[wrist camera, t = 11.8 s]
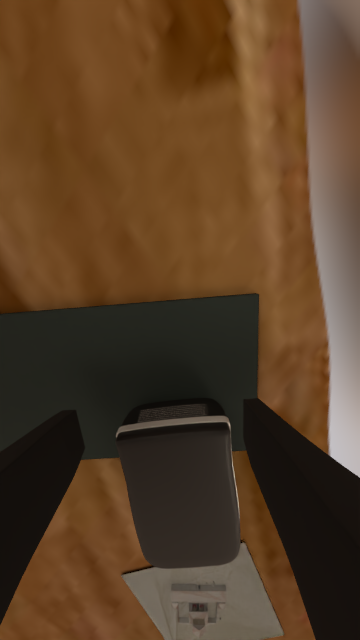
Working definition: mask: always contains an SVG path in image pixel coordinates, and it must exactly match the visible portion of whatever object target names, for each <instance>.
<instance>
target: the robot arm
mask: <svg viewBox="0 0 360 640" xmlns="http://www.w3.org/2000/svg"><path fill="white" fill-rule="evenodd" d="M243 440H244V443H245V447H246V450H247V454H248V457H249V460H250V464H251V467H252V469H253V472H254V474H255V477H256V479H257V482H258V484H259V487H260V489H261V492H262V494H263V497H264V499H265V502H266V504H267V507H268V509H269V511H270V514H271V516H272V519H273V521H274V524H275V526H276V529H277V531H278V534H279V536H280V538H281V541H282V543H283V546H284V548H285V551H286V554H287V556H288V559H289V562H290V564H291V567H292V570H293V573H294V576H295V579H296V582H297V585H298V588H299V591H300V594H301V597H302V600H303V603H304V606H305V608H306V611H307V614H308V617H309V620H310V623H311V626H312V629H313V633H314V636H315V639H316V640H360V478H359V477H358V476H357V475H355V474H353V473H352V472H351V471H349V470H348V469H347V468H345V467H344V466H342V465H341V464H340V463H338V462H337V461H336V460H334V459H333V458H332V457H330V456H329V455H327V454H326V453H325V452H323V451H322V450H321V449H319V448H318V447H317V446H316V445H314V444H313V443H312V442H310V441H309V440H308V439H307V438H305V437H304V436H303V435H301V434H300V433H299V432H298V431H296V430H295V429H294V428H293V427H292V426H290V425H289V424H288V423H287V422H286V421H284V420H283V419H282V418H281V417H280V416H278V415H277V414H276V413H275V412H274V411H273V410H271V409H270V408H269V407H268V406H267V405H265V404H264V403H263V402H262V401H261V400H260V399H258V398H252V399H243ZM84 450H85V445H84V440H83V436H82V432H81V428H80V424H79V420H78V416H77V412H76V410H62V411H60V412H59V413H57V414H55V415H54V416H52V417H51V418H49V419H48V420H46V421H45V422H43V423H42V424H40V425H39V426H37V427H36V428H34V429H33V430H31V431H30V432H29V433H27V434H26V435H24V436H23V437H21V438H20V439H18V440H17V441H15V442H14V443H12V444H11V445H10V446H8V447H7V448H5V449H4V450H2V451H1V452H0V625H1V622H2V620H3V618H4V616H5V613H6V611H7V609H8V607H9V605H10V602H11V600H12V598H13V596H14V593H15V591H16V589H17V587H18V585H19V582H20V580H21V578H22V576H23V574H24V572H25V570H26V568H27V566H28V564H29V562H30V560H31V558H32V556H33V554H34V552H35V550H36V548H37V546H38V544H39V543H40V541H41V539H42V537H43V535H44V533H45V531H46V529H47V527H48V525H49V524H50V522H51V520H52V518H53V516H54V514H55V512H56V510H57V508H58V506H59V505H60V503H61V501H62V499H63V497H64V495H65V493H66V491H67V489H68V487H69V485H70V483H71V481H72V479H73V477H74V475H75V473H76V470H77V468H78V466H79V463H80V461H81V458H82V455H83V453H84Z"/></svg>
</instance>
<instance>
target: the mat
mask: <svg viewBox="0 0 360 640" xmlns="http://www.w3.org/2000/svg"><path fill="white" fill-rule="evenodd" d="M258 315H259V294H256V293H255V294H242V295H230V296H217V297H205V298H192V299H180V300H167V301H155V302H142V303H130V304H117V305H105V306H92V307H80V308H67V309H55V310H42V311H30V312H17V313H5V314H0V452H1V451H2V450H4V449H5V448H7V447H8V446H10V445H11V444H12V443H14V442H15V441H17V440H18V439H20V438H21V437H23V436H24V435H26V434H27V433H29V432H30V431H31V430H33V429H34V428H36V427H37V426H39V425H40V424H42V423H43V422H45V421H46V420H48V419H49V418H51V417H52V416H54V415H55V414H57V413H59V412H60V411H62V410H76V412H77V416H78V420H79V424H80V428H81V432H82V436H83V440H84V445H85V450H84V453H83V455H82V458H81V460H84V459H101V458H119V454H118V450H117V447H116V443H115V441H116V434H117V431H118V429H119V428H120V427H121V425H122V423H123V421H124V419H125V418H126V416H127V415H128V413H129V412H130V411H131V410H132V409H133V408H135V407H137V406H139V405H143V404H147V403H154V402H162V401H170V400H180V399H192V398H211V399H213V400H215V401H217V402H218V403H219V404H220V405H221V407H222V408H223V410H224V411H225V415H226V417H227V418H228V419H229V423H230V426H231V450H232V451H244V450H246V447H245V443H244V440H243V399H252V398H257V370H258Z"/></svg>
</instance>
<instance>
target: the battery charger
mask: <svg viewBox="0 0 360 640" xmlns="http://www.w3.org/2000/svg"><path fill="white" fill-rule="evenodd" d="M115 443H116V447H117V450H118V454H119V457H120V460H121V464H122V468H123V472H124V475H125V480H126V484H127V490H128V496H129V501H130V506H131V511H132V516H133V520H134V524H135V529H136V532H137V536H138V539H139V543H140V546H141V549H142V552H143V555H144V557H145V559H146V560H147V561H148V562H149V563H150V564H151V565H153V566H154V567H157V568H161V569H177V568H196V567H207V566H219V565H225V564H228V563H230V562H232V561H233V560H234V559H235V558H236V557H237V556H238V554H239V550H240V544H241V543H240V515H239V504H238V495H237V488H236V481H235V475H234V469H233V461H232V450H231V426H230V423H229V419H228V418H227V417H226V415H225V411H224V410H223V408H222V407H221V405H220V404H219V403H218V402H217V401H215V400H213V399H211V398H192V399H180V400H170V401H162V402H154V403H147V404H143V405H139V406H137V407H135V408H133V409H132V410H131V411H130V412H129V413H128V415H127V416H126V418H125V419H124V421H123V423H122V425H121V427H120V428H119V429H118V431H117V434H116V441H115Z"/></svg>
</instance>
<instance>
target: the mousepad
mask: <svg viewBox="0 0 360 640" xmlns="http://www.w3.org/2000/svg"><path fill="white" fill-rule="evenodd" d="M121 576H122V578H123V579H124V580H125V582H126V583H127V585H128V586H129V588H130V589H131V591H132V592H133V593H134V595H135V596H136V598H137V599H138V601H139V602H140V604H141V605H142V607H143V608H144V609H145V611H146V612H147V614H148V615H149V617H150V618H151V620H152V621H153V622H154V624H155V625H156V627H157V628H158V630H159V631H160V633H161V634H162V636H163V637H164V638H165V640H260V639H265V638H271V637H276V636H281V635H284V633H283V630H282V628H281V626H280V623H279V621H278V619H277V616H276V614H275V612H274V609H273V607H272V605H271V602H270V600H269V598H268V595H267V593H266V591H265V588H264V586H263V584H262V581H261V579H260V577H259V574H258V572H257V570H256V567H255V565H254V563H253V560H252V558H251V556H250V553H249V551H248V549H247V546H246V544H245V543H241V544H240V550H239V554H238V556H237V557H236V558H235V559H234V560H233V561H232V562H230V563H228V564H225V565H219V566H207V567H196V568H177V569H161V568H157V567H154V568H150V569H146V570H142V571H137V572H133V573H129V574H125V575H121Z"/></svg>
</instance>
